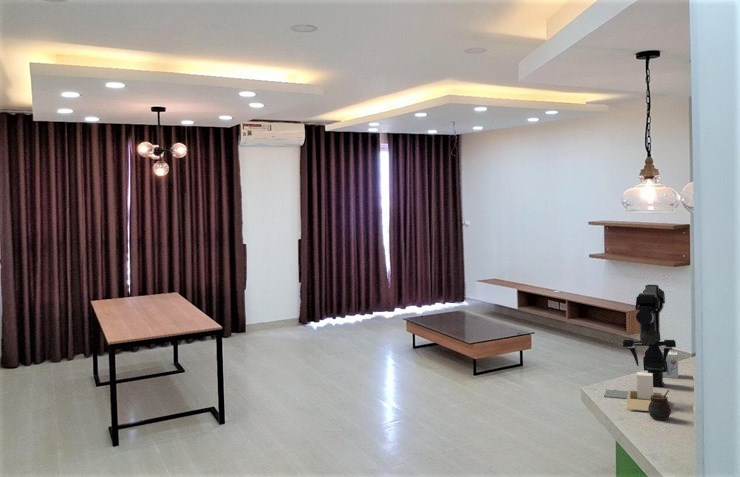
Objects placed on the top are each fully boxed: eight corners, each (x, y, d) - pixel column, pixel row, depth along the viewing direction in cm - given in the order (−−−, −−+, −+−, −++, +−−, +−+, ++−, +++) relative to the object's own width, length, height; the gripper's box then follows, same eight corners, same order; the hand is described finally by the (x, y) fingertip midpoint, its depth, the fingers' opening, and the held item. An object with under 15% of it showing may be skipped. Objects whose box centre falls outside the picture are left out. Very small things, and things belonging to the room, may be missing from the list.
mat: (606, 390, 256) (606, 389, 256) (629, 392, 252) (629, 391, 252) (604, 397, 247) (604, 396, 247) (628, 399, 243) (628, 398, 243)
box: (638, 402, 238) (637, 372, 238) (653, 404, 235) (652, 373, 235) (637, 406, 234) (636, 374, 233) (653, 407, 231) (652, 376, 231)
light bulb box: (651, 376, 274) (651, 352, 274) (652, 373, 280) (651, 349, 280) (678, 378, 269) (677, 354, 269) (678, 375, 275) (677, 351, 275)
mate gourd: (643, 417, 221) (642, 389, 221) (659, 414, 224) (658, 387, 223) (659, 423, 214) (658, 394, 214) (675, 419, 217) (675, 391, 217)
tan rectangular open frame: (629, 396, 246) (629, 387, 246) (663, 399, 241) (663, 390, 240) (627, 410, 229) (626, 401, 229) (663, 414, 223) (662, 404, 223)
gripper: (620, 325, 237) (623, 366, 235) (674, 324, 229) (677, 367, 226) (622, 326, 247) (625, 365, 244) (674, 325, 239) (677, 366, 236)
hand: (650, 366), depth 238 cm, fingers open, 9 cm apart
